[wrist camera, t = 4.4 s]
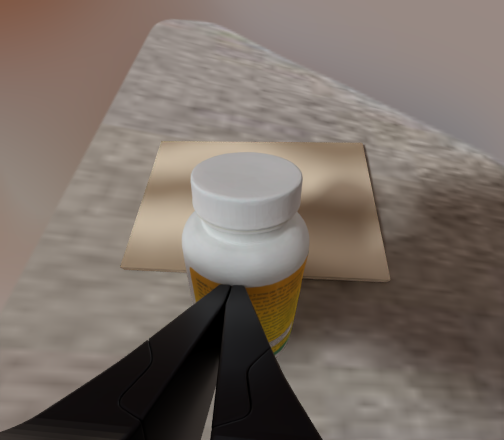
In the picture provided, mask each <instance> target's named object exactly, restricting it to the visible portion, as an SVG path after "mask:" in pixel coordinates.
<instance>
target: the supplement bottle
mask: <svg viewBox="0 0 504 440" xmlns="http://www.w3.org/2000/svg"><path fill="white" fill-rule="evenodd" d="M302 182H303V177H302V172H301V171H300V169H299V168H298V167H297V166H296V165H295V164H294V163H292V162H291V161H289V160H286V159H284V158H281V157H278V156H274V155H270V154H265V153H256V152H238V153H227V154H222V155H218V156H214V157H211V158H209V159H207V160H204V161H202V162H201V163H199V164H198V165H196V167H195V168H194V169H193V170H192V173H191V189H192V204H193V207H194V210H195V211H194V212H193V213H192V214H191V216H190V217H189V218H188V220H187V222H186V224H185V226H184V229H183V233H182V249H183V255H184V261H185V266H186V271H187V276H188V281H189V286H190V291H191V296H192V302H193V305H194V304H195V303H196V302H197V301H199V300H200V299H201V298H203V297H204V296H205V295H207V294H208V293H209V292H210V291H212V290H213V289H214V288H216V287H217V286H218V285H220V284H226V285H231V287H232V286H233V285H243V286H245V288H246V291H247V293H248V295H249V298H250V300H251V302H252V305H253V307H254V309H255V311H256V314H257V316H258V318H259V321H260V323H261V325H262V328H263V330H264V332H265V335H266V337H267V339H268V342H269V344H270V346H271V349H272V351H273V353H274V355H275V358H276V357H277V356H278V355H279V354H280V353H281V352H282V351H283V349H284V348H285V346H286V344H287V342H288V340H289V337H290V334H291V330H292V326H293V321H294V317H295V312H296V307H297V302H298V298H299V293H300V288H301V283H302V278H303V273H304V270H305V265H306V262H307V257H308V253H309V233H308V229H307V226H306V224H305V222H304V220H303V218H302V217H301V216H300V214H299V213H298V212H297V211H298V209H299V207H300V203H301V191H302Z"/></svg>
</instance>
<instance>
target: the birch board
mask: <svg viewBox="0 0 504 440" xmlns="http://www.w3.org/2000/svg"><path fill="white" fill-rule="evenodd" d="M238 152H256V153H265V154H270V155H274V156H278V157H281V158H284V159H286V160H289V161H291V162H292V163H294V164H295V165H296V166H297V167H298V168H299V169H300V171H301V172H302V177H303V182H302V191H301V203H300V207H299V209H298V211H297V212H298V213H299V214H300V216H301V217H302V218H303V220H304V222H305V224H306V226H307V229H308V233H309V253H308V257H307V262H306V265H305V270H304V273H303V278H307V279H327V280H348V281H369V282H388V281H390V280H391V279H390V274H389V270H388V265H387V260H386V255H385V250H384V245H383V240H382V236H381V231H380V226H379V221H378V216H377V211H376V207H375V202H374V197H373V192H372V187H371V182H370V178H369V173H368V168H367V163H366V158H365V153H364V149H363V144H362V143H315V142H185V141H161V144H160V147H159V150H158V154H157V157H156V160H155V163H154V166H153V169H152V172H151V175H150V178H149V181H148V184H147V187H146V190H145V193H144V196H143V199H142V202H141V205H140V208H139V211H138V214H137V217H136V220H135V223H134V226H133V230H132V233H131V236H130V239H129V242H128V245H127V248H126V251H125V254H124V257H123V260H122V263H121V266H120V267H121V268H123V269H124V270H141V271H162V272H182V273H187V271H186V266H185V261H184V255H183V249H182V233H183V229H184V226H185V224H186V222H187V220H188V218H189V217H190V216H191V214H192V213H193V212H194V211H195V210H194V207H193V204H192V189H191V173H192V170H193V169H194V168H195V167H196V165H198V164H199V163H201V162H202V161H204V160H207V159H209V158H211V157H214V156H218V155H222V154H227V153H238Z"/></svg>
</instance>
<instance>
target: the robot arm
mask: <svg viewBox="0 0 504 440" xmlns="http://www.w3.org/2000/svg"><path fill="white" fill-rule="evenodd" d="M216 383H217V384H216ZM215 387H216V393H215V402H214V411H213V420H212V431H211V438H210V440H323V439H322V438H321V436H320V435H319V433H318V431H317V430H316V428H315V426H314V425H313V423H312V422H311V420H310V418H309V417H308V415H307V413H306V412H305V410H304V408H303V407H302V405H301V404H300V402H299V400H298V399H297V397H296V395H295V394H294V392H293V390H292V389H291V387H290V385H289V383H288V382H287V380H286V378H285V376H284V374H283V372H282V370H281V368H280V366H279V364H278V362H277V360H276V358H275V355H274V353H273V351H272V349H271V346H270V344H269V342H268V339H267V337H266V335H265V332H264V330H263V328H262V325H261V323H260V321H259V318H258V316H257V314H256V311H255V309H254V307H253V305H252V302H251V300H250V298H249V295H248V293H247V291H246V288H245V286H243V285H233V286H232V287H231V285H226V284H220V285H218V286H217V287H216V288H214V289H213V290H212V291H210V292H209V293H208V294H207V295H205V296H204V297H203V298H201V299H200V300H199V301H197V302H196V303H195V304H194V305H192V306H191V307H190V308H188V309H187V310H186V311H184V312H183V313H182V314H181V315H179V316H178V317H177V318H175V319H174V320H173V321H171V322H170V323H169V324H168V325H166V326H165V327H164V328H162V329H161V330H160V331H159V332H157V333H156V334H155V335H153V336H152V337H151V338H149V341H148V340H147V341H145V342H144V343H143V344H142V345H140V346H139V347H138V348H136V349H135V350H134V351H132V352H131V353H130V354H128V355H127V356H125V357H124V358H123V359H121V360H120V361H119V362H117V363H116V364H114V365H113V366H111V367H110V368H108V369H107V370H105V371H104V372H102V373H101V374H99V375H98V376H96V377H95V378H93V379H92V380H90V381H89V382H87V383H86V384H84V385H83V386H81V387H80V388H78V389H77V390H75V391H74V392H72V393H70V394H69V395H67V396H66V397H64V398H63V399H61V400H60V401H58V402H57V403H55V404H54V405H52V406H51V407H49V408H48V409H46V410H44V411H43V412H41V413H40V414H38V415H36V416H35V417H33V418H31V419H29V420H27V421H26V422H24V423H22V424H19V425H17V426H15V427H13V428H10V429H7V430H4V431H2V432H0V440H201V437H202V433H203V429H204V426H205V422H206V419H207V415H208V412H209V408H210V405H211V401H212V398H213V394H214V390H215Z"/></svg>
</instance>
